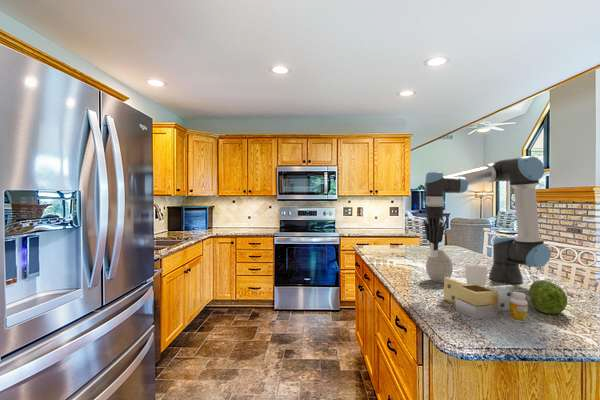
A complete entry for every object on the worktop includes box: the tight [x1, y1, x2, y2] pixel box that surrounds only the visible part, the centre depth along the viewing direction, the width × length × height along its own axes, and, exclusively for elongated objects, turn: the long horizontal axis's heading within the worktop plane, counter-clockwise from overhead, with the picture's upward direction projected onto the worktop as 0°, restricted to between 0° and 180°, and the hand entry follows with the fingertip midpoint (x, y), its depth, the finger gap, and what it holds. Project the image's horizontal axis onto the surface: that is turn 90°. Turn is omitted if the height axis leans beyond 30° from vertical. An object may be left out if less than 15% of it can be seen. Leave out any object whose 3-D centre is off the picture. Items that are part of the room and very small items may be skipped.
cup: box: [464, 263, 488, 287], centre depth 148 cm, size 9×9×12 cm
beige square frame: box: [443, 277, 498, 306], centre depth 126 cm, size 10×22×10 cm, turn 15°
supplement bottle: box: [508, 291, 529, 323], centre depth 114 cm, size 5×5×10 cm
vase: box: [425, 248, 454, 284], centre depth 164 cm, size 13×13×17 cm
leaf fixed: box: [454, 284, 516, 320], centre depth 122 cm, size 22×10×10 cm, turn 105°
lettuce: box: [528, 279, 568, 315], centre depth 126 cm, size 12×21×11 cm, turn 151°
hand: (433, 256), depth 144 cm, fingers closed
